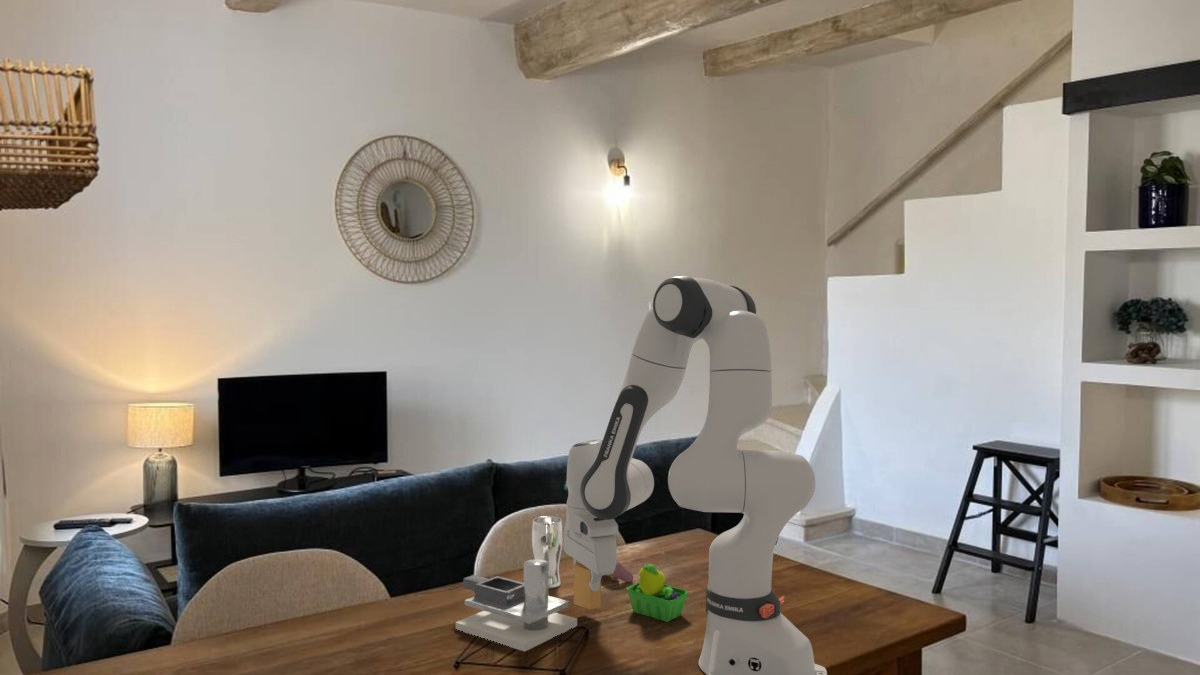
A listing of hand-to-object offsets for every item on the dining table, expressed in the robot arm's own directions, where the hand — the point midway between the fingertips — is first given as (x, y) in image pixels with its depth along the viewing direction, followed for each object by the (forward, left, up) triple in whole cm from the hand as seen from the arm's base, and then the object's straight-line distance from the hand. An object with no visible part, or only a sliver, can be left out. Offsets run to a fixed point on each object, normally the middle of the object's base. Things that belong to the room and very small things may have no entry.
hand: (587, 585), depth 185 cm
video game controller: (+10, -23, -7) cm, 26 cm away
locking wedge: (0, 0, -4) cm, 4 cm away
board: (+7, +14, -6) cm, 17 cm away
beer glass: (+19, -10, -7) cm, 23 cm away
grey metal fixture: (+10, +14, -5) cm, 18 cm away
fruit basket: (-11, -9, -7) cm, 16 cm away
